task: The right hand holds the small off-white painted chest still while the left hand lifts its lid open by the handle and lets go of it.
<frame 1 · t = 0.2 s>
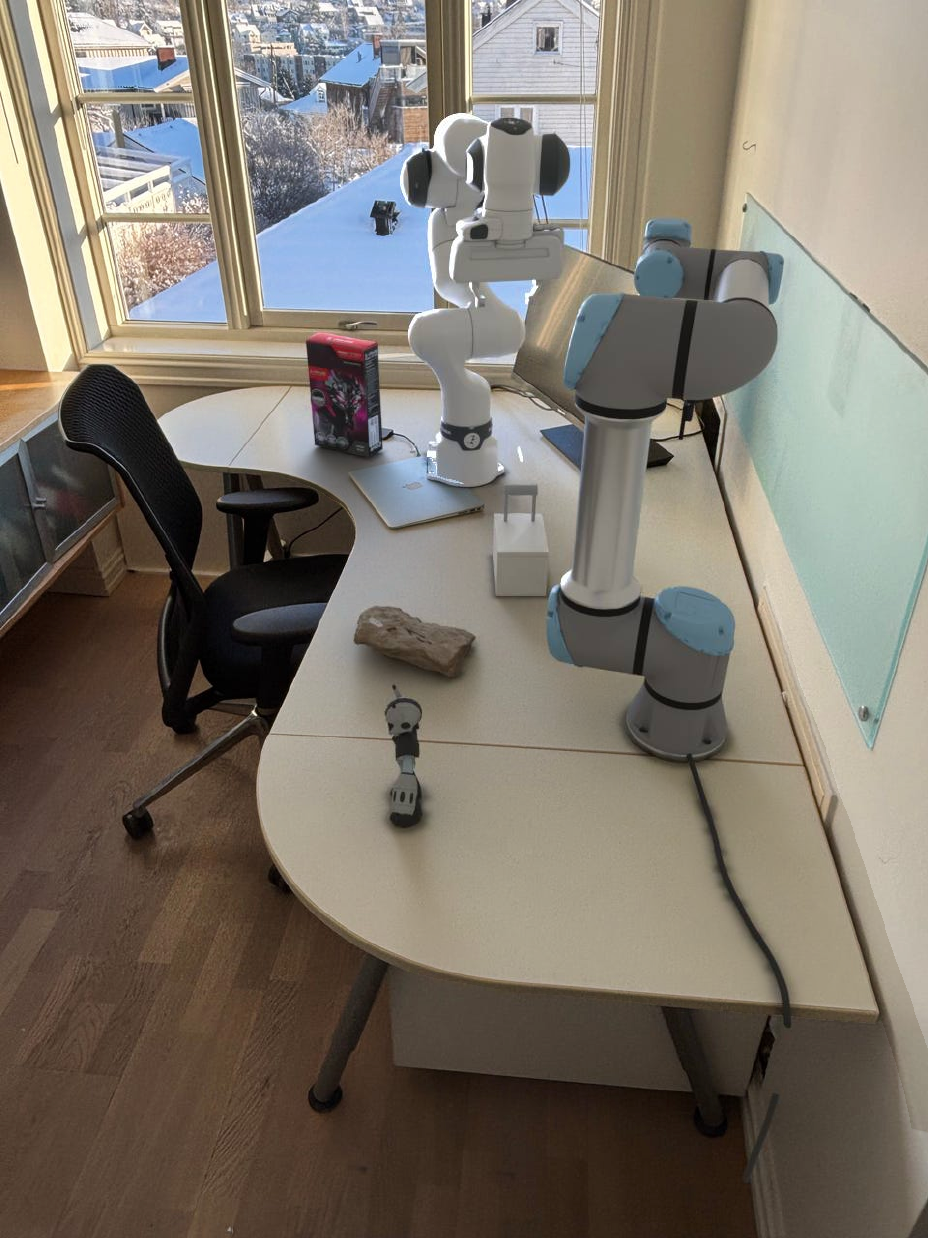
left hand: (505, 305, 168), 48 cm above the table, tool pointing down, fingers open, 8 cm apart
right hand: (643, 433, 170), 28 cm above the table, tool pointing down, fingers open, 13 cm apart
lid: (521, 516, 174), point 13 cm above the table, hinge at 0.0°
chest: (518, 575, 181), on the table
robot: (406, 806, 129), on the table
stone: (409, 653, 160), on the table
graphics card box: (348, 448, 232), on the table
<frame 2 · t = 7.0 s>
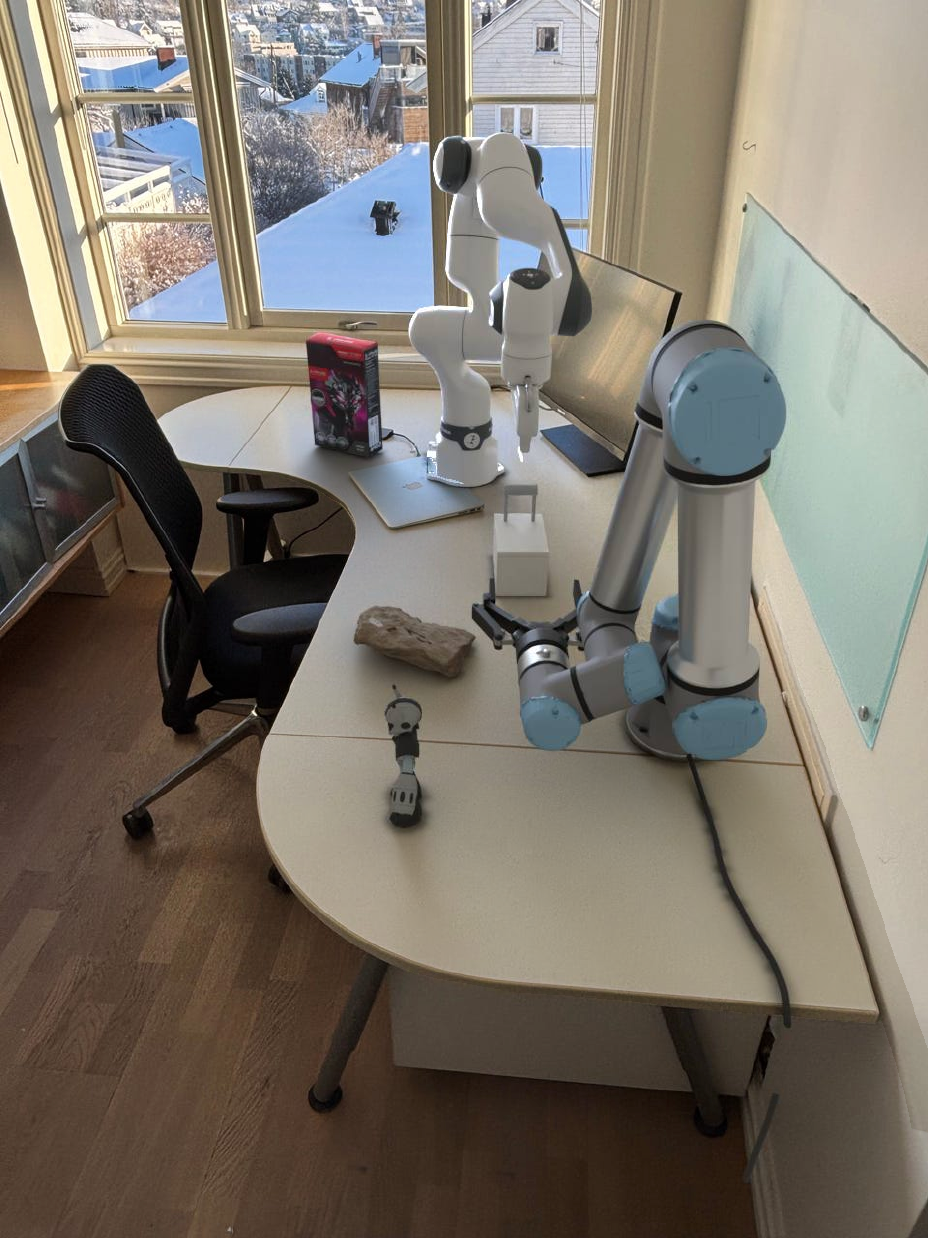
left hand: (522, 440, 171), 26 cm above the table, tool pointing down, fingers open, 8 cm apart
right hand: (533, 585, 149), 15 cm above the table, tool horizontal, fingers open, 13 cm apart
nothing on the table moved.
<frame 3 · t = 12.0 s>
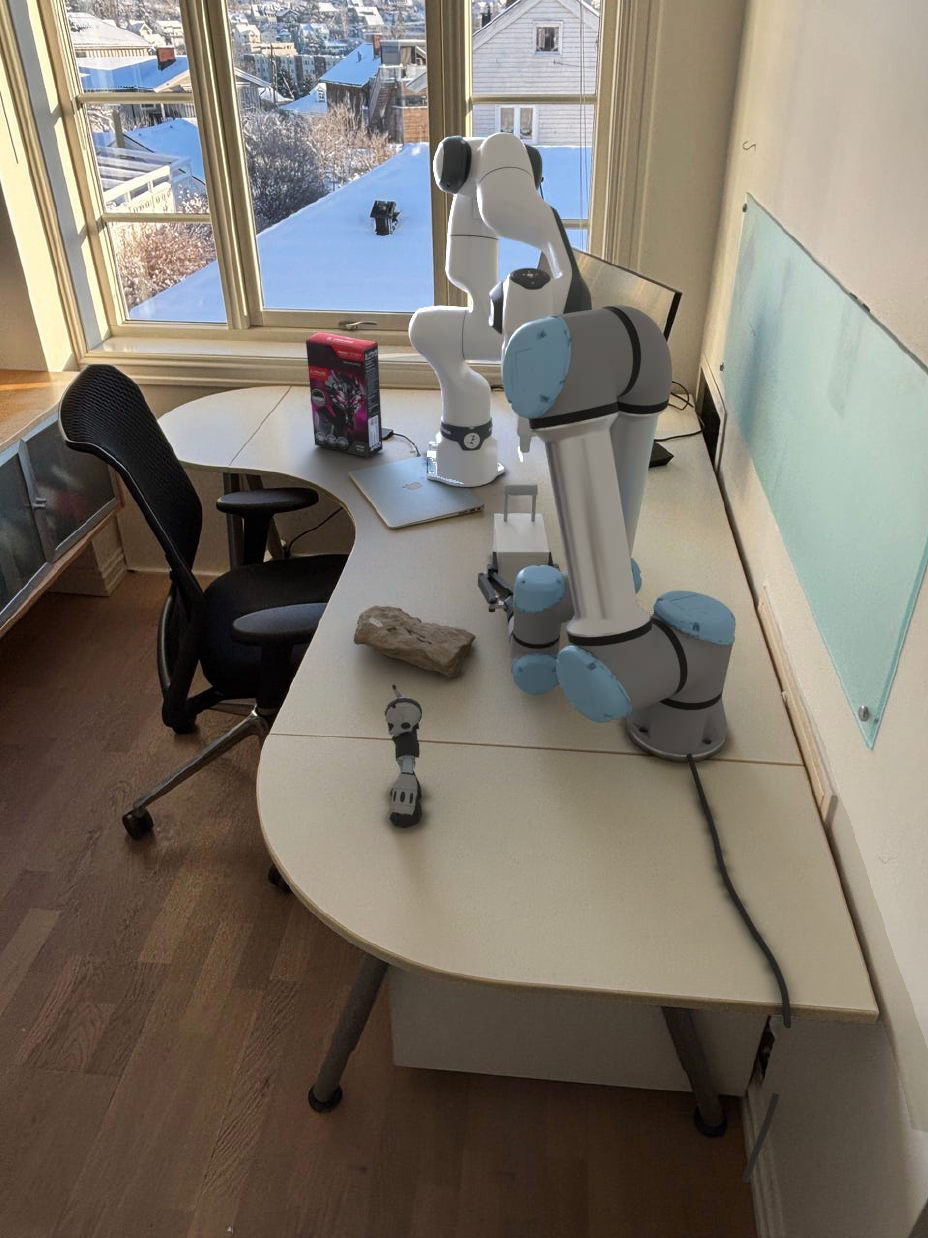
left hand: (522, 440, 171), 26 cm above the table, tool pointing down, fingers open, 8 cm apart
right hand: (521, 557, 174), 7 cm above the table, tool horizontal, fingers closed on chest, 9 cm apart
chest: (518, 575, 181), on the table, touching right hand
everything else where it was.
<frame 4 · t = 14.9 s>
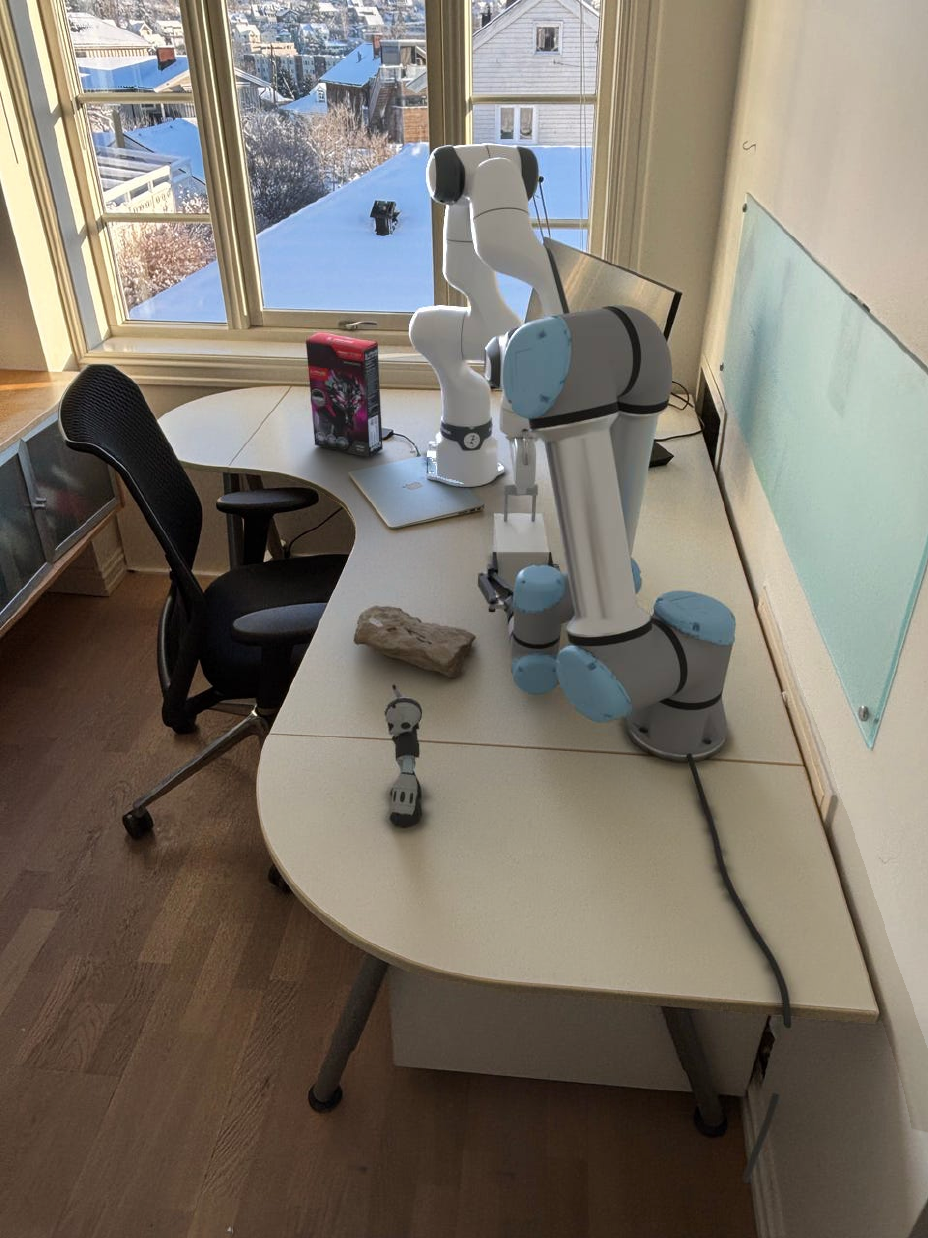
left hand: (520, 488, 176), 16 cm above the table, tool pointing down, fingers closed on lid, 2 cm apart
right hand: (521, 558, 174), 7 cm above the table, tool horizontal, fingers closed on chest, 9 cm apart
lid: (521, 516, 174), point 13 cm above the table, hinge at 0.1°, touching left hand
chest: (518, 576, 181), on the table, touching right hand
everything else where it was.
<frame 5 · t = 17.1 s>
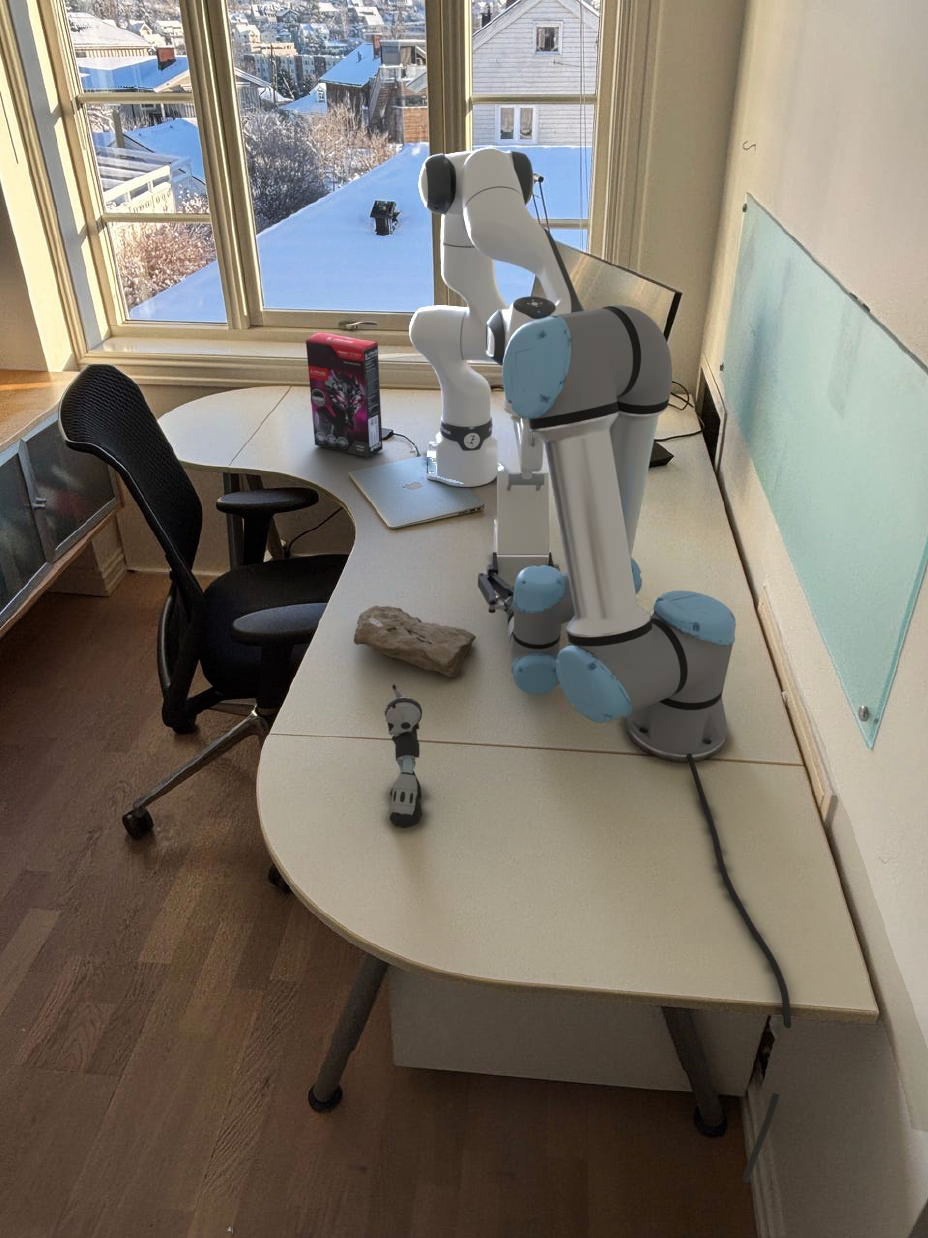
left hand: (525, 474, 164), 24 cm above the table, tool pointing down, fingers closed, pressing on lid
right hand: (521, 558, 174), 6 cm above the table, tool horizontal, fingers closed on chest, 10 cm apart
lid: (524, 508, 167), point 18 cm above the table, hinge at 49.2°, touching left hand
chest: (518, 576, 181), on the table, touching right hand
everything else where it was.
when the right hand's fingers open (6 cm above the table, at t = 22.7 s): chest stays where it is, on the table.
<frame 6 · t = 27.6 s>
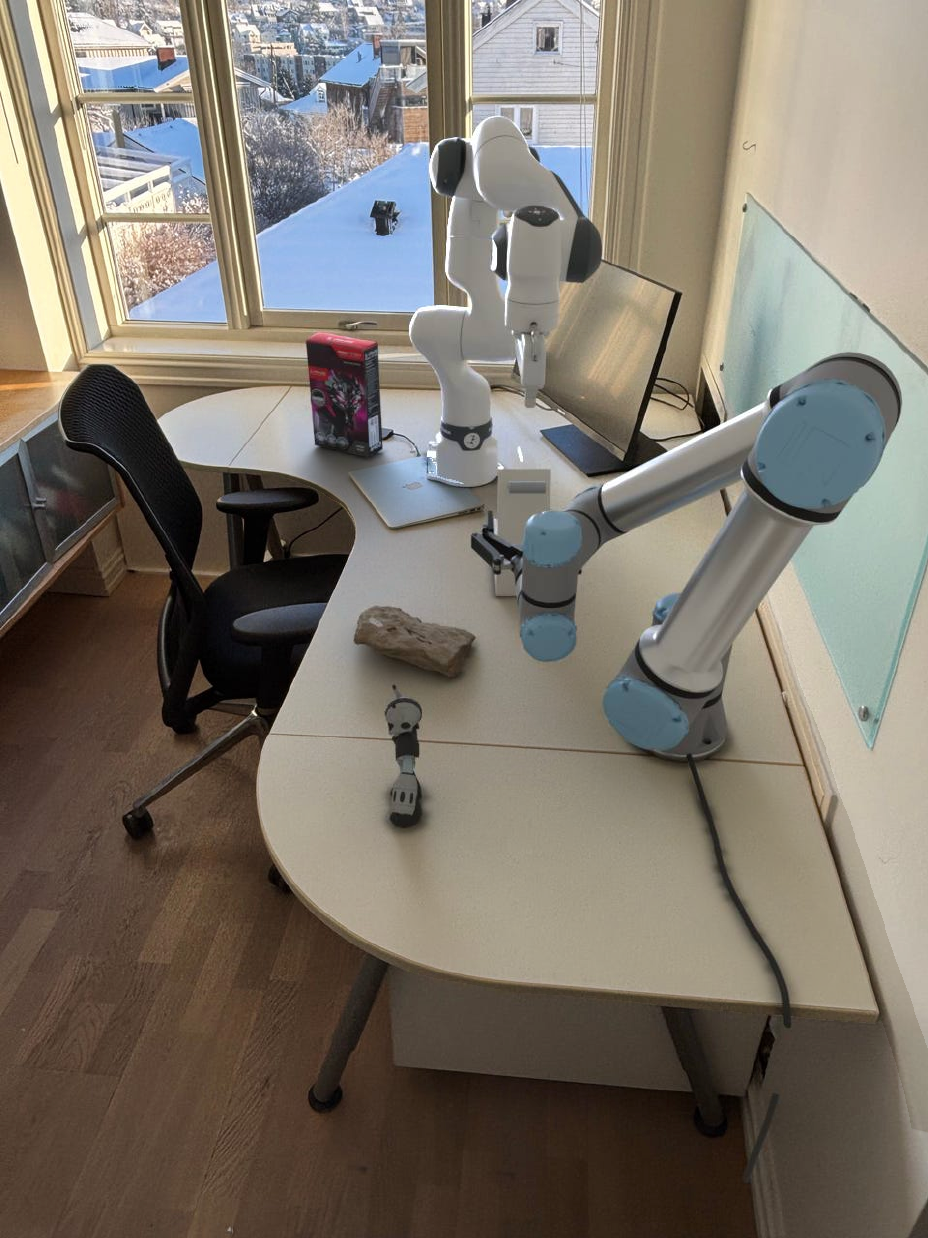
left hand: (527, 396, 159), 37 cm above the table, tool pointing down, fingers open, 8 cm apart
right hand: (530, 517, 154), 22 cm above the table, tool horizontal, fingers open, 13 cm apart
lid: (525, 512, 165), point 18 cm above the table, hinge at 65.4°
chest: (518, 575, 181), on the table
everything else where it was.
at the end: lid at +65° (first picture: +0°); the left hand is holding nothing; the right hand is holding nothing; chest tilted 0°; chest never tilted more than 1° during the clip; chest moved 0.0 cm from its start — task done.
